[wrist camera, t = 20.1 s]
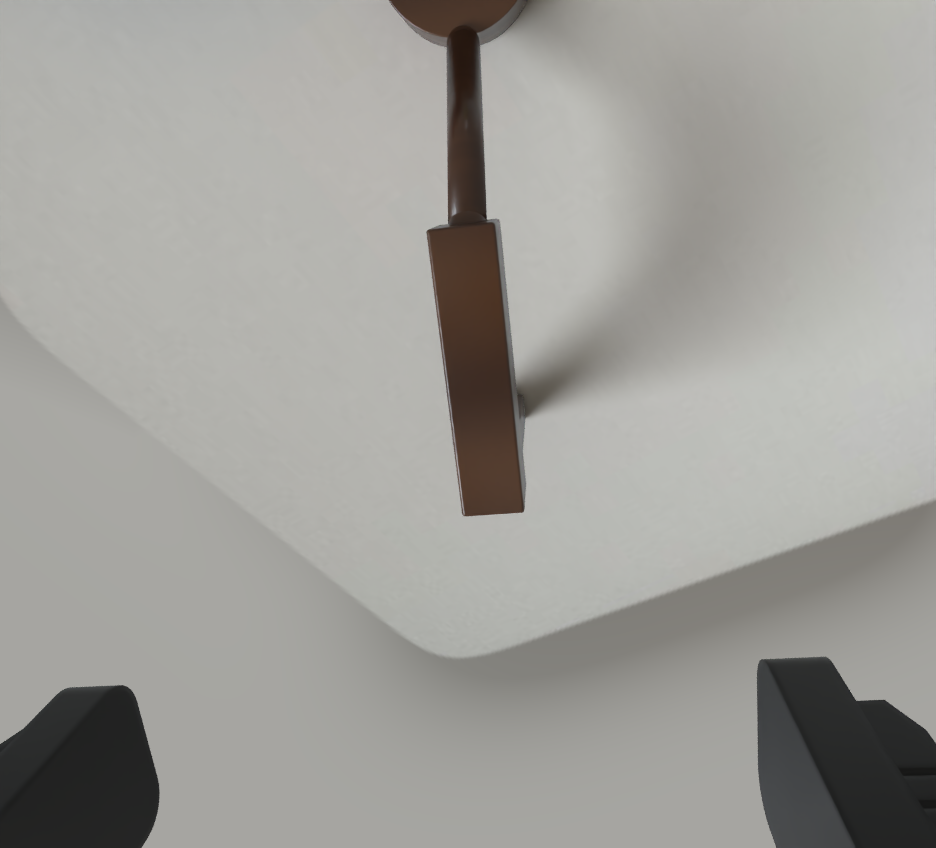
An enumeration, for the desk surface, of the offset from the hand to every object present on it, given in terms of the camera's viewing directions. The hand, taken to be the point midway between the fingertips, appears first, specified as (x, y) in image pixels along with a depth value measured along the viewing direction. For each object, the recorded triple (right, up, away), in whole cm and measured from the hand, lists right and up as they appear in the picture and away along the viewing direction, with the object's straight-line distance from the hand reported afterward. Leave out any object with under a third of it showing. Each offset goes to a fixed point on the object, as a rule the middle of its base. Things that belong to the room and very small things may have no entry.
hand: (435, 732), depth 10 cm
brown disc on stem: (+1, +14, +21) cm, 25 cm away
